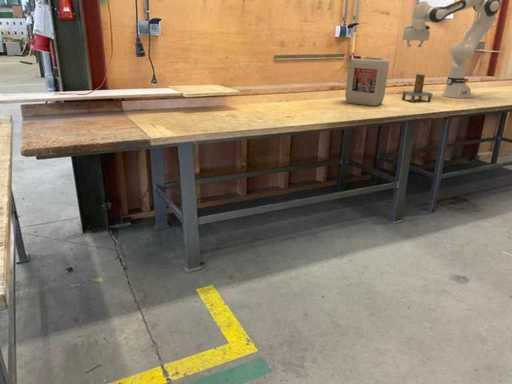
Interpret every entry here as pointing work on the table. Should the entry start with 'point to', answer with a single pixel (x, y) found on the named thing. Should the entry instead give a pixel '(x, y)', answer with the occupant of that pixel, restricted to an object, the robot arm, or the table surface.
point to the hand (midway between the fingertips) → (414, 47)
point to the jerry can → (366, 80)
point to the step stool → (417, 95)
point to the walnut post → (419, 83)
